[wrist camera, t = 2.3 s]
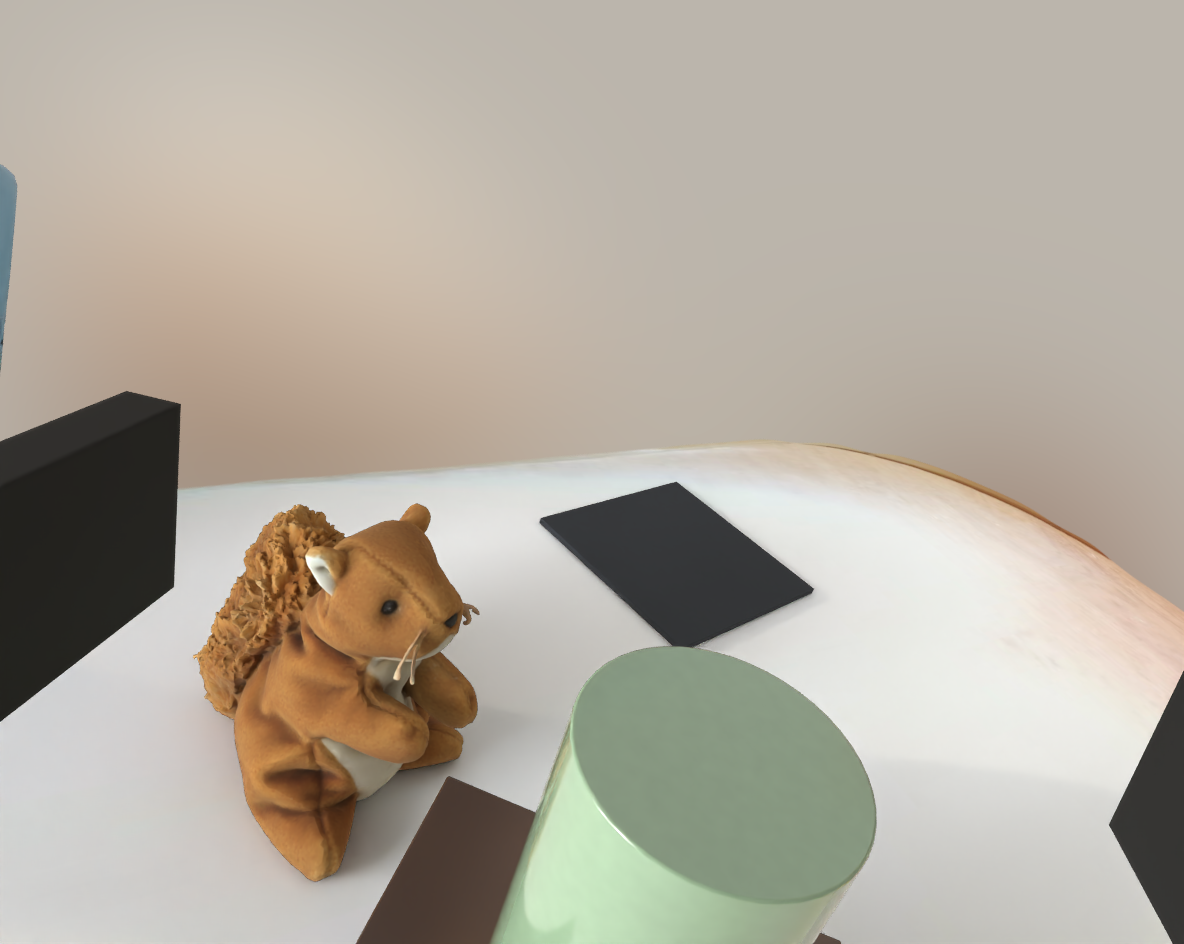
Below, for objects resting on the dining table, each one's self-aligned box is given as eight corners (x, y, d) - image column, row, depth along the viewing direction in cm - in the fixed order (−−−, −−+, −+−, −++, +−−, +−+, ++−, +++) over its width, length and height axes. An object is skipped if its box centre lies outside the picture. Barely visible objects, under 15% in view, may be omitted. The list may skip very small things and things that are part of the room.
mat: (539, 522, 64) (540, 517, 64) (674, 485, 74) (676, 481, 74) (680, 652, 57) (682, 647, 56) (812, 593, 66) (814, 588, 66)
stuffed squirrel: (322, 907, 37) (370, 666, 31) (125, 697, 43) (131, 458, 37) (491, 777, 45) (558, 562, 38) (304, 614, 51) (334, 404, 44)
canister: (419, 988, 26) (506, 703, 20) (603, 871, 30) (713, 614, 25) (581, 1240, 22) (742, 971, 16) (763, 1062, 26) (936, 807, 21)
